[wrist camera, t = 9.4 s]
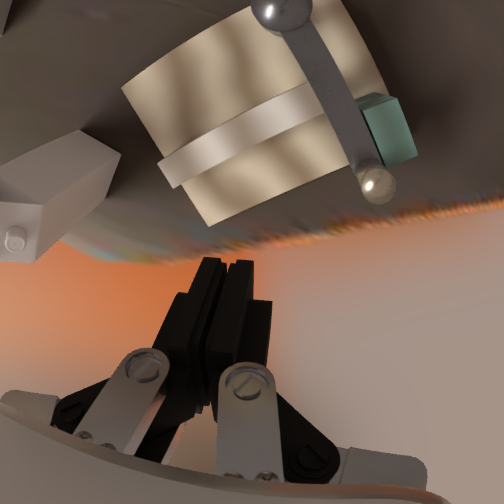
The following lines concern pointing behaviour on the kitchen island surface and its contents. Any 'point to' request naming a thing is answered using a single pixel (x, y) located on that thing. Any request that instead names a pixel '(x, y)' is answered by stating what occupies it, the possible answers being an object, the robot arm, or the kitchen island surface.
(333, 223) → the kitchen island surface
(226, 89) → the base
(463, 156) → the kitchen island surface
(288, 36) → the swing bar
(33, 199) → the milk carton
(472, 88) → the kitchen island surface
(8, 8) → the grey curved block
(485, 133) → the kitchen island surface
